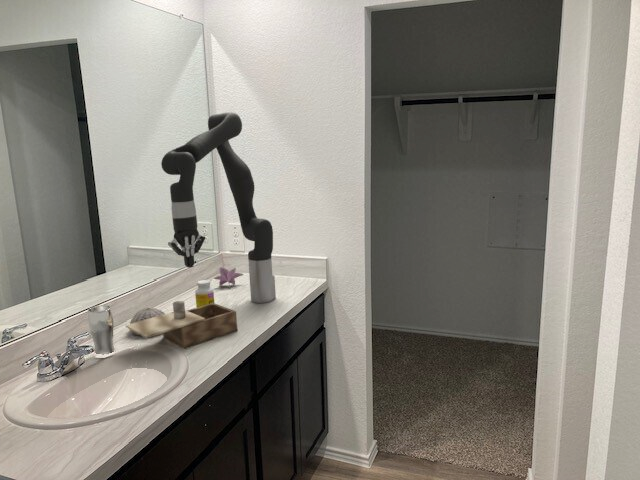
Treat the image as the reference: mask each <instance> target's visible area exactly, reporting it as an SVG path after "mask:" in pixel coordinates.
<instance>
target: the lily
mask: <svg viewBox="0 0 640 480" xmlns="http://www.w3.org/2000/svg"><path fill="white" fill-rule="evenodd" d="M236 269H237V268H236V267H235V268H232V269H230V270H228V269H227V268H224V267H219V275H218V276H215V277H213V279H214V280H218V281H219V282H218V283H219V284H218V286H219V285H221V286H223V285H225V284H226V283H228V287H229V289H231V285H230V284H232V285H236V280H235V279H237V278H239V277H243V276H244V274H243V273H242V272H237V270H236Z"/></svg>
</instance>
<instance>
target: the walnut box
mask: <svg viewBox="0 0 640 480" xmlns="http://www.w3.org/2000/svg"><path fill="white" fill-rule="evenodd" d="M186 311H189V312H191V313H194V314H196V315H198V316H201V317H203V318H205V320H203V321H200V322H197V323H194V324H190V325H187V326H184V327H181V328H177V329H174V330H171V331H168V332H164V333H162V335H163V337H162V338H163V339H165V340H167V341H169V342H171V343H173V344H175V345H176V346H178V347H180V348H183V349H185V350H186V349H189V348H191V347H194V346H197V345H200V344H203V343H206V342H209V341H212V340H215V339H218V338H220V337H223V336H227V335H230V334H232V333H236V332H238V319H237V311H236V310H234V309H231V308H228V307H226V306H223V305H220V304H217V303H215V302H214V303H212V304H208V305H205V306H201V307H198V308H197V307H195V308H192V309H188V310H186Z"/></svg>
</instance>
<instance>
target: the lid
mask: <svg viewBox="0 0 640 480" xmlns="http://www.w3.org/2000/svg"><path fill="white" fill-rule="evenodd" d="M172 309H173V310H172V312H168V313H165V314H164V315H160V316H157V317H153V318H149V319H146V320H142V321H139V322H135V323H132V324H130V323H128V324H125V328H127V329H128V330H129V331H130V330H132V331H134V332H136V333H138V334H139V335H138V336H141V337H143V338H144V339H147V338H151V337H154V336H157V335H162V334H163V333H164V332H168V331H171V330H174V329H177V328H181V327H184V326H187V325H190V324H194V323H197V322H200V321H203V320H205V318H203V317H201V316H198V315H196V314H194V313H191V312H189V311H187V310H186V305H185V301H184V300H179V301H178V300H177V301H173V302H172Z"/></svg>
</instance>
